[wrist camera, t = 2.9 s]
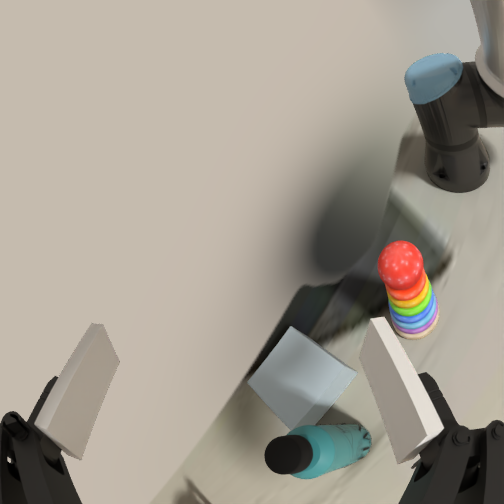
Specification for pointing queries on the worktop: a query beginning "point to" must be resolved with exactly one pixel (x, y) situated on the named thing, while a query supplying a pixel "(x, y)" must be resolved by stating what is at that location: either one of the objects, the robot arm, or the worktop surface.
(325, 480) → the worktop surface
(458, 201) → the worktop surface
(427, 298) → the stacking toy
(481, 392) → the worktop surface
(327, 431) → the beverage bottle
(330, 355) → the block
